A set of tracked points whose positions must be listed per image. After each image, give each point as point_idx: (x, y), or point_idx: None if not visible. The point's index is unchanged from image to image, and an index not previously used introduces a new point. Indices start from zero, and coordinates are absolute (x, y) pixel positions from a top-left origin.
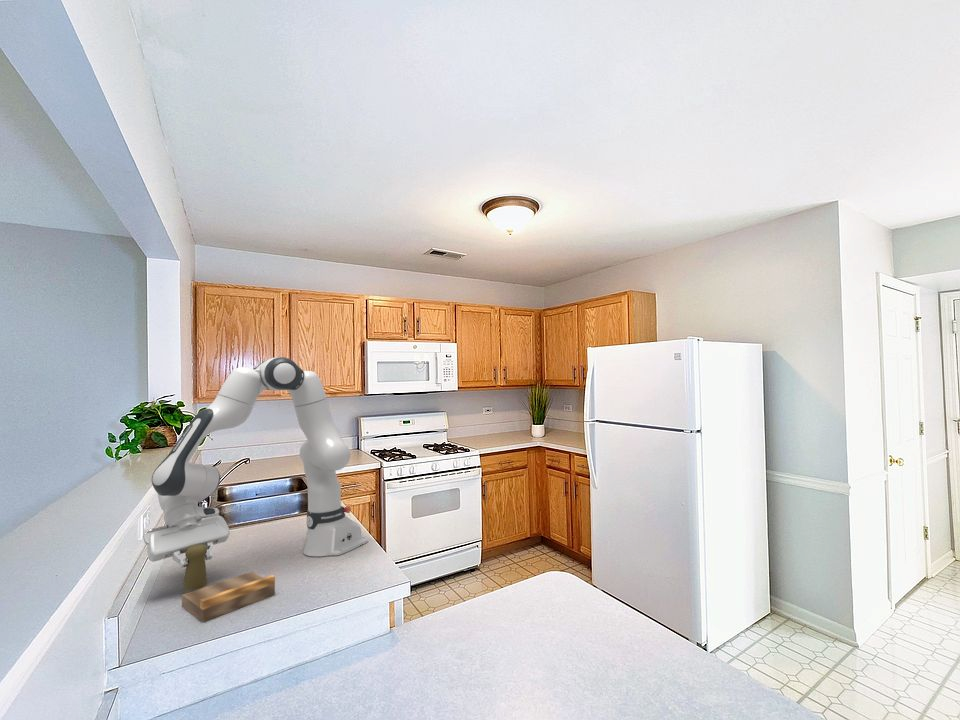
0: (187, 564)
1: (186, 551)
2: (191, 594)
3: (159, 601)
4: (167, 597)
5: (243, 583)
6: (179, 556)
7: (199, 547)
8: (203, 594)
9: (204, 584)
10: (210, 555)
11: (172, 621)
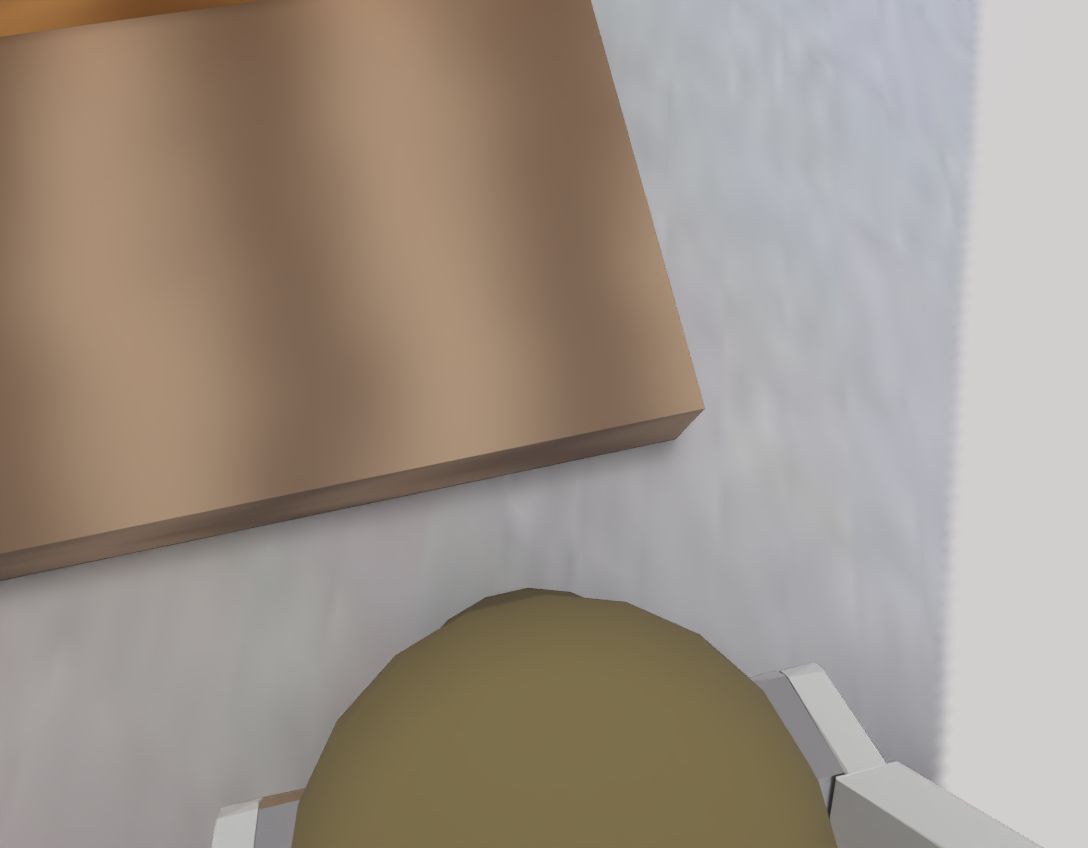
0: None
1: (832, 837)
2: (616, 340)
3: None
4: None
5: (83, 243)
6: (945, 831)
7: (507, 698)
8: (508, 247)
9: (443, 626)
10: (255, 811)
11: (753, 175)
